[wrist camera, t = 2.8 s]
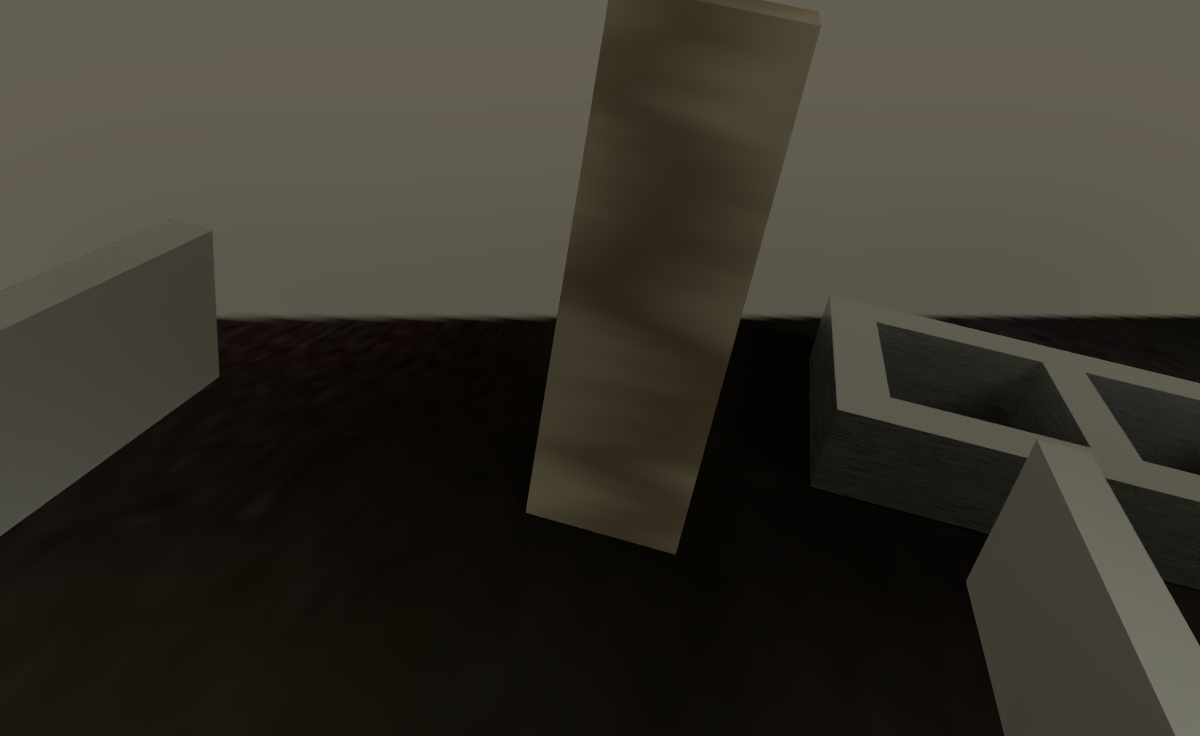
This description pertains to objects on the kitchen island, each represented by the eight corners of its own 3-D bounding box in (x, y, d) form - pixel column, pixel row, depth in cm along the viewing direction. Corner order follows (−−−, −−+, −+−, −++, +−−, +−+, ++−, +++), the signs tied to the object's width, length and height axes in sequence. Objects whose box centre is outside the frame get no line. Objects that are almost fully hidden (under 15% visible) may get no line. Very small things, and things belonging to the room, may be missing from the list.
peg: (694, 469, 28) (818, 12, 21) (675, 554, 24) (821, 25, 17) (564, 435, 28) (646, -24, 21) (525, 512, 24) (611, -18, 18)
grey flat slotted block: (1458, 519, 34) (1509, 457, 32) (1687, 720, 25) (1771, 648, 23) (809, 357, 37) (830, 294, 35) (810, 486, 28) (837, 409, 26)
